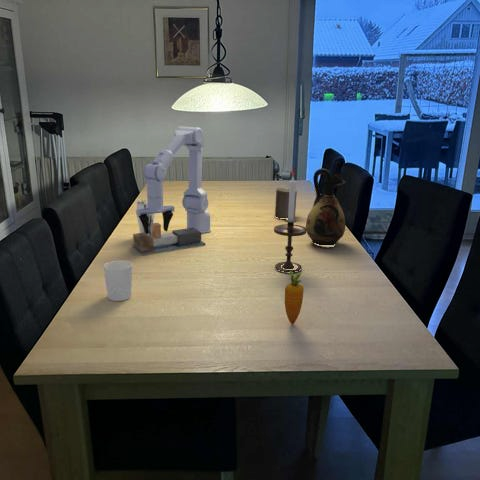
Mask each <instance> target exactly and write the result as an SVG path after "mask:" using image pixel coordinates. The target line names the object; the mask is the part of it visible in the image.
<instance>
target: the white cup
mask: <svg viewBox="0 0 480 480" xmlns="http://www.w3.org/2000/svg"><path fill="white" fill-rule="evenodd" d="M132 268H133V263H132V262H131V261H129V260H123V259H122V260H120V259H119V260H112V261H108V262H106V263H104V264H103V271H104V278H105V286H106V292H107V298H108V300H110V301H113V302H123V301H127V300H129V299H130V298H131V297H132V286H133V285H132V284H133V283H132V282H133V269H132Z"/></svg>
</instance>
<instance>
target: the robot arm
mask: <svg viewBox="0 0 480 480" xmlns="http://www.w3.org/2000/svg"><path fill="white" fill-rule="evenodd" d="M204 134H205V133H204V131H203V130H202V129H201V127H198V126H197V127H193V126H191V127H190V126H184V125H183V126H182V125H179V126H177V127H176V129H175V130H174V132H173V135H174V136H173V139H172V140H171V141H170V143H169V144H168V146H167V147H166V149H162V150H160V151H159V153H158V154H157V155H156V156H155V158H154V159H153V160H152V162H151V163H148V164H146V165H145V166H144V168H143V171H142V175H143V178H144V180H145V181H144V182H145V184H146V197H147V199H146V201H147V202H148V207H147V208H143V209H138V210H137V209H136V210H135V215H136V217H137V216H138V217H139V218H140V220H141V222H142V224H143V227H144V231H145V233H146V234H148V233H149V229H148V222H149V217H147V214H154V215H155V214H160V213H161V214H162V220H163V222H162V223H163V231H165V232H168V230H169V226H170V223H171V220H172V219H173V216H174V213H175V206H174V205H164V190H163V189H164V188H163V187H164V186H163V180H164V179H165V178H166V175H167V171H168V168H169V167H170V165H171V164H172V163H173V162H174V160H175V159H174V155H176V154H177V152H178V151H179V150H181V148H182V147H183V146H185V147H186V148H187V149H188V188H187V189H186V190H185V191H184V192H183V197H182V201H181V202H182V203H181V204H182V207H183V209H184V211H185V212H186V228H185V229H187V228H195V229H196V230H198V231H200V232H201V234H204V233H211V232H212V230H211V215H210V212H209V210H208V208H209V199H208V193H207V191H205V189H203V188H202V182H203V181H202V180H203V179H202V176H203V148H204V143H205V142H204V141H205V140H204V139H205V135H204Z"/></svg>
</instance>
